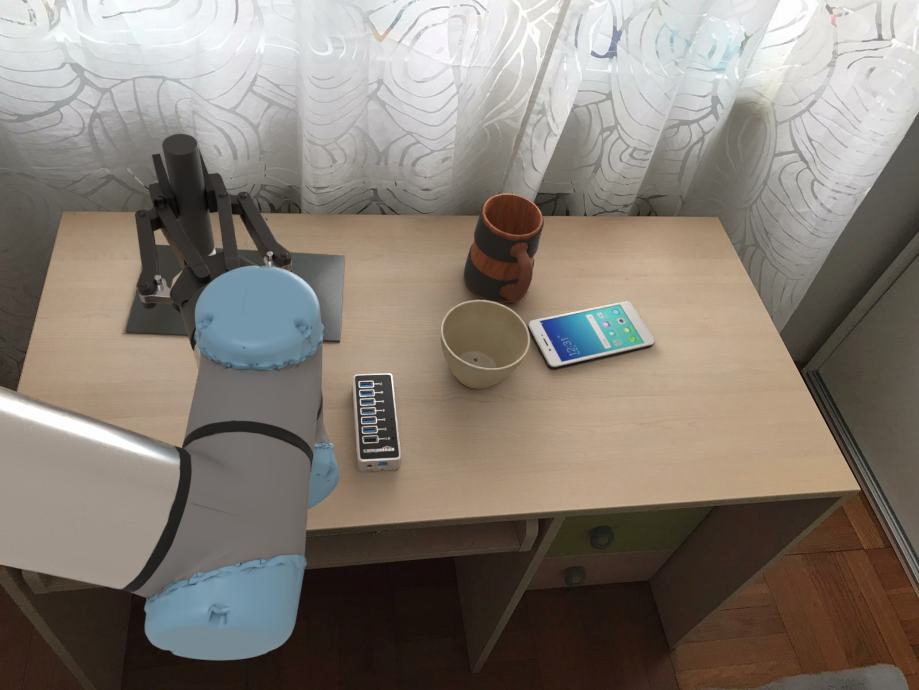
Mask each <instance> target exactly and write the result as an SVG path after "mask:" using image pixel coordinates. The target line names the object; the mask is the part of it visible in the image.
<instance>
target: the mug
mask: <svg viewBox="0 0 919 690" xmlns="http://www.w3.org/2000/svg"><path fill="white" fill-rule="evenodd" d="M479 210H480V211H479V215H478V218H477V222H476V225H475V228H474V233H473V242H472V244H471V246H470V248H469V250H468V253H467V256H466V261H465V264H464V271H463V272H464V273H463V277H464V280H465V282H466V285H467V286H468V288H469V289H470V290H471V291H472V293H473V294H475V295H476V296H477V297H478V298H480V299H481V300H487V301H492V302H496V303H499V304H505V303H509V302H511V303H517V302H520V301H521V300H522V299H523V298H524V297H525V296H526V294H527V292H528V290H529V288H530V286H531V283H532V279H533V276H534V275H533V274H534V267H535V255H536V254H537V252H538V249H539V246H540V241H541V236H542V232H543V229H544V224H545V220H544V216H543V213H542V211H541V210H540V208H539V207H538V206H537V205H536V204H535V203H534V202H533V201H531V200H530V199H528V198H526V197H524V196H523V195H522V196H521V195H519V194H514V193H499V194H496V195H495V194H494V195H493V196H491V197H489V198H488V199H486V200H485V201H484V202H483V204H482V205H481V207H480V209H479Z"/></svg>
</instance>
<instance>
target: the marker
mask: <svg viewBox="0 0 919 690" xmlns="http://www.w3.org/2000/svg"><path fill="white" fill-rule="evenodd" d="M161 148H162V152H163V157H164V161H165V166H166V173H167V176H168V180H169V183H170V186H171V190H172V192H173V195H174V198H175V203H176V208H177V212H178V217H179V219H177V220H178V222H179V224H180V225H181V227H182V229H183V230H184V232H185V234H186V236H187V237H188V239H189V241H190V242H191V244H192V246H194V247H195V248H196V250H197V252H198V253H199V255H200V256H211V255H214V254H216V251H215V248H216V247H215V245H216V244H215V239H214V234H213V227H212V221H211V216H210V215H211V213H210V212H209V209H208V203H207V197H206V190H205V184H204V178H203V172H202V165H201V159H200V153H199V150H200V148H199V142H198V140H197V139H196V138H195V137H193V136H192V135H190V134H186V133H175V134H171V135H169V136H167V137H166V138H164V140H163V141H162V143H161Z"/></svg>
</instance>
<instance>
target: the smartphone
mask: <svg viewBox="0 0 919 690" xmlns="http://www.w3.org/2000/svg"><path fill="white" fill-rule="evenodd" d="M527 328H528V331H529V334H530V335H531V337H532V339H533V342H534V344H535V345H536V347H537V348H538V351H539V352H540V354H541V357H542V358H543V360H544V362H545V365H546V366H547V367H548V368H549V369H550V370H559V369H563V368H569V367H572V366H576V365H580V364H584V363H588V362H593V361H598V360H602V359H608V358H610V357H615V356H619V355H623V354H628V353H633V352H636V351H637V352H638V351H640V350H641V351H642V350H646V349H650V348H652V347H653V346H654V344H655V338H654V336H653V335H652V333H651V331H650V330H649V329H648V326H647V325H646V324H645V322H644V321H643V319H642V318H641V316H640V314H639V313H638V312H637V310H636V308H635V307H634V305H633V304H632V303H631V302H630V301H628V300H625V301H619V302H615V303H610V304H604V305H600V306H595V307H590V308H585V309H580V310H576V311H571V312H566V313H560V314H556V315H551V316H546V317H540V318H537V319H532V320H529V322H528V324H527Z"/></svg>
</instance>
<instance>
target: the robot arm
mask: <svg viewBox="0 0 919 690" xmlns="http://www.w3.org/2000/svg"><path fill="white" fill-rule="evenodd" d="M199 153H200V159H201V165H202V172H203V178H204V184H205V190H206V197H207V203H208V209H209V214H212V213H213V214H214V213H217V214H218V221H219V228H220V236H221V243H222V244H221V245H222V248H223V252H219V253H216V254H214V255H211V256H200V255H199V253H198V252H197V250H196V248H195V247H194V246H192V244H191V242H190V241H189V239H188V237H187V236H186V234H185V232H184V230H183V229H182V227H181V225H180V224H179V222H178V219H179V217H178V212H177V208H176V203H175V198H174V195H173V192H172V190H171V186H170V181H169V176H168V172H167V169H166V168H165V165H164V162H163V158H162V156H161V153H155V154H151V159H152V162H153V167H154V171H155V175H156V180H157V182H154V183H149V185H148V193H149V196H150V201H151V205H152V208H150V209H149V210H147V209H139V210H137V211H136V212H135V213H134V218H135V225H136V234H137V241H138V248H139V256H140V263H141V272H140V274H139V277H138V280H137V283H136V290H137V289H138V292H139V296H140V299H141V303H142V306H143V307H144V308H146V309H152V308H154V307H155V306H156V305H157V303H164V304H172V306H173V308H174V309H175V310H176V311H177V312H179V313H180V314H181V315H182V318H183V321H184V324H185V328H186V331H187V334H188V336H187V337H188V340H189V344H190V347H191V350H192V351H193V356H194V360H195V363H196V366H197V370H198V372H197V377H196V382H195V386H194V390H193V396H192V399H191V405H190V410H189V415H188V419H187V423H186V429H185V434H184V437H183V438H184V439H183V442H182V446H181V447H179V446H177V445H174V444H171V443H168V442H166V441H163V440H160V439H158V438H157V439H156V438H154V437H150V436H148V435H145V434H142V433H140V432H136V431H133V430H130V429H127V428H124V427H122V426H119V425H116V424H112V423H110V422H107V421H104V420H101V419H99V418H95V417H92V416H89V415H86V414H83V413H81V412H77V411H75V410H71V409H68V408H66V407H63V406H59V405H58V404H54V403H51V402H48V401H46V400H42V399H39V398H37V397H33V396H31V395H28V394H25V393H22V392H19V391H16V390H13V389H10V388H7V387H4V386H1V385H0V565H1V566H6V567H10V568H15V569H20V570H24V571H28V572H29V571H30V572H35V573H38V574H44V575H48V576H53V577H57V578H61V579H62V578H63V579H68V580H72V581H76V582H81V583H86V584H91V585H95V586H100V587H105V588H110V589H115V590H119V591H124V592H129V593H132V594H134V595H137V596H140V597H143V598H146V599H145V600H146V601H145V604H144V608H143V610H144V612H145V620H144V634H145V636H146V637H147V640H148V641H149V642H150V643H151V644H152V645H153V646H155V647H156V648H158V649H160V650H162V651H170V653H172V654H173V655H174V656H178V657H182V658H187V659H195V660H204V661H236V660H243V659H244V660H245V659H250V658H255V657H259V656H262V655H265V654H267V653H268V652H271V651H273V650H276V649H278V648H279V647H281V646H283V645H284V644H285V643H286V641H288V640H289V638H290V637H291V636H292V633H293V631H294V628H295V626H296V623H297V622H296V621H297V615H298V609H299V604H300V598H301V591H302V587H303V581H304V575H305V569H306V567H307V564H308V562H307V558H306V556H305V555H306V542H307V541H306V540H307V529H308V528H307V527H308V512H309V509H312V508H314V507H315V506H317V505H318V504H320V503H322V502H323V501H324V500H325V499H327V498H328V497H329V496H330V495H331V494H332V493H333V491H334V490H335V489H336V487H337V486H338V483H339V481H340V477H341V475H340V468H339V465H338V461H337V458H336V455H335V451H334V450H335V445H334V443H333V442H331V440H330V438H329V436H328V434H327V431H326V427H325V422H324V397H323V396H324V395H323V389H322V388H323V387H322V386H323V385H322V383H323V344H324V341H323V335H324V331H325V330H324V326H323V324H322V323H321V314H320V305H319V301H318V299H317V296H316V294H315V293H314V291H313V289H312V288H311V287H310V286H309V285H308V284H307V283H306V282H305V281H304V280H303V279H302V278H300V277H299V276H297V275H295V274H294V273H292V258H291V253H290V251H289V250H288V249H287V248H286V247H285V246H283V245H282V244H280V243H279V242H278V241H277V239H276V237H275V236H274V234H273V232H272V230H271V229H270V227H269V225H268V224H267V222H266V220H265V218H264V217H263V215H262V213H261V211H260V209H259V208H258V206H257V204H256V202H255V201H254V199H253V197H252V196H251V194H250V193H249V192H248V191H240V192H238V193H237V194H231V193H229V191H228V190H227V187H226V185H225V182H224V179H223V177H222V175H221V174H220V173H219V172H214V173H213V172H212V173H209V171H208V168H207V166H206V163H205V160H204V158H203V155H202V153H201V150H200V149H199ZM233 216H239V218H240V220H241V222H242V223H243V226H244V227H245V229H246V231H247V233H248V234H249V236H250V238H251V240H252V242H253V244H254V246H255V247H256V250H258V251H259V253H260V254H261V256H262V258H263V260H264V266H259V265H257V264H256V263H254V262H252V261H250V260H248V259H246V258H245V257H243V256H241V255H239V254H238V249H239V248H238V243H237V237H236V231H235V224H234V223H235V222H234V217H233ZM158 230H160V232H161V233H162V234H163V236H164V238H165V240H166V242H167V243H168V245H170V247H171V248H172V250H173V252H174V254H175V256H176V257H177V259H178V261H179V263H180V264H181V266H182V268H183V271H182V272H181V274H180V276H179V277H178V279H177V280H176V282H175V284H174V285H173V287H172V288H169V287H168V286H167V283H166V280H165V279H163V278H161V275H160V269H159V262H158V256H157V249H156V245H157V244H156V243H157V242H156V237H155V232H156V231H158Z"/></svg>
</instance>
